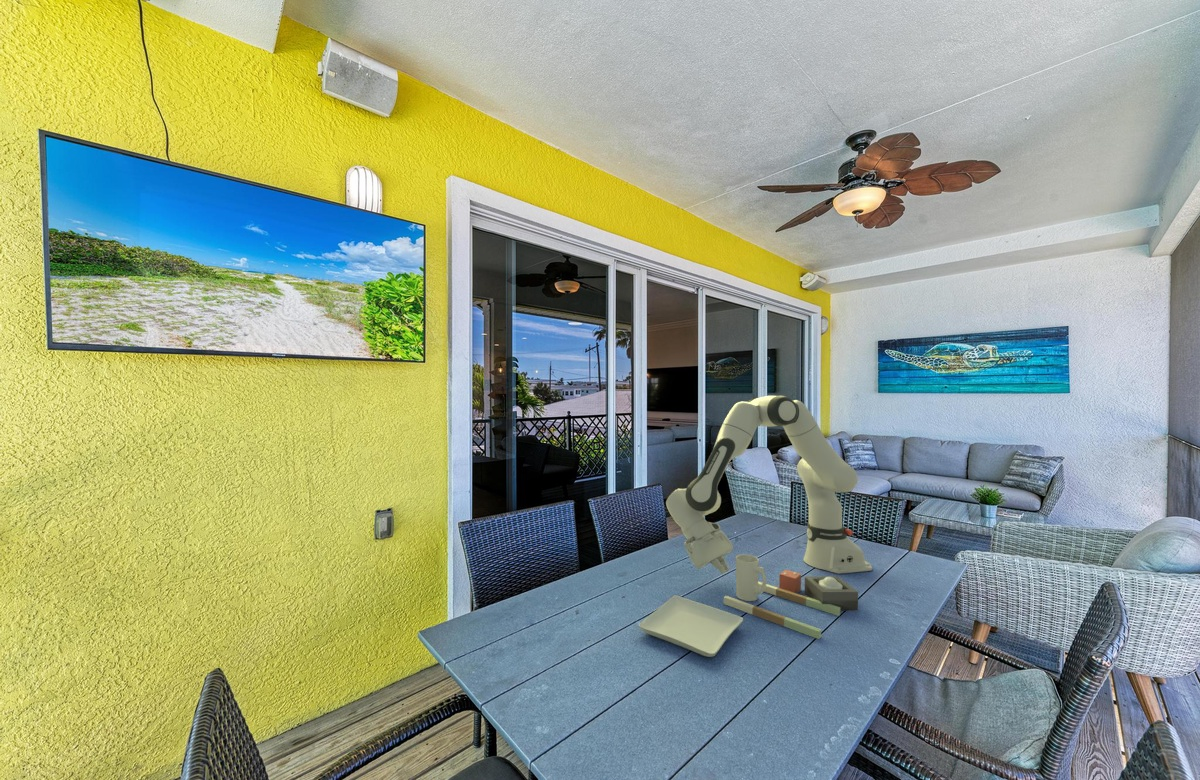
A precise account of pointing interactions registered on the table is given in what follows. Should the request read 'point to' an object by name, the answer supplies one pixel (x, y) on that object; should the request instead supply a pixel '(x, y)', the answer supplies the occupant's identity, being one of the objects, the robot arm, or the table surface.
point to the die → (790, 581)
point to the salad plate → (691, 625)
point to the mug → (748, 577)
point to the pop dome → (830, 583)
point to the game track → (782, 619)
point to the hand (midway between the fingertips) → (725, 571)
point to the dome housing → (832, 594)
